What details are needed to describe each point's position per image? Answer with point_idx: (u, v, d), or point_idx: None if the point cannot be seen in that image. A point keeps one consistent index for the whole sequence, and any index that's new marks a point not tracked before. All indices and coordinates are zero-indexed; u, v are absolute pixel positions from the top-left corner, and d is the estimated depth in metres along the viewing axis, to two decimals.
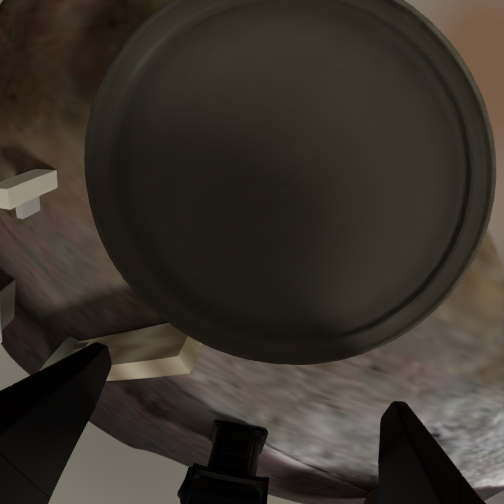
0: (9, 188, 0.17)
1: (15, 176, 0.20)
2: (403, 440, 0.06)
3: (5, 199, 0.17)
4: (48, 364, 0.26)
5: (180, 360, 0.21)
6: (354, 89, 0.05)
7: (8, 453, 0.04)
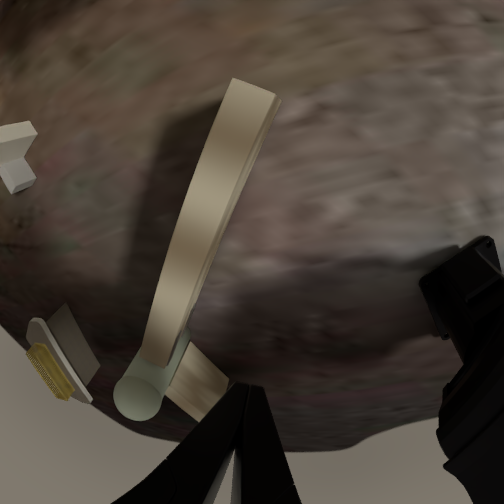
0: None
1: None
2: (241, 426, 0.07)
3: None
4: (131, 362, 0.19)
5: (241, 82, 0.11)
6: None
7: None
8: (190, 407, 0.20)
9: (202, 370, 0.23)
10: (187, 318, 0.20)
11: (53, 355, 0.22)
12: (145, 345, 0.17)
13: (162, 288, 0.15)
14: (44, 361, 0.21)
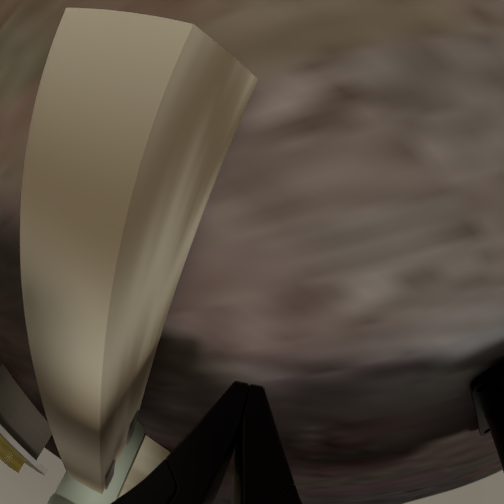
0: None
1: None
2: (241, 426, 0.07)
3: None
4: (66, 472, 0.10)
5: (85, 13, 0.02)
6: None
7: None
8: None
9: None
10: (127, 432, 0.12)
11: None
12: (70, 472, 0.09)
13: (59, 437, 0.07)
14: None
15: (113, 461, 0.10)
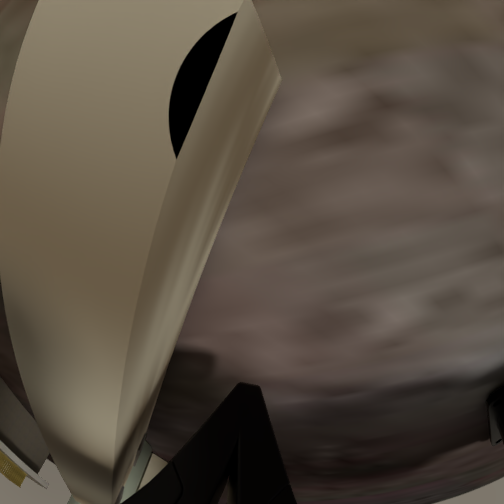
0: None
1: None
2: None
3: None
4: None
5: None
6: None
7: None
8: None
9: None
10: (135, 456, 0.11)
11: None
12: (77, 498, 0.08)
13: (65, 473, 0.06)
14: None
15: (122, 488, 0.09)
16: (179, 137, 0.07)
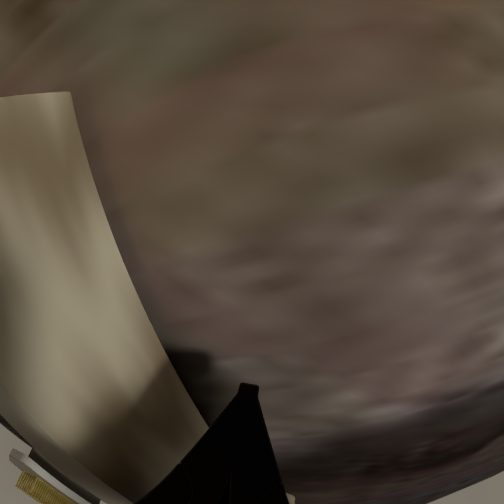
0: None
1: None
2: None
3: None
4: None
5: None
6: None
7: None
8: None
9: None
10: None
11: (53, 487, 0.11)
12: None
13: None
14: (43, 497, 0.10)
15: None
16: None
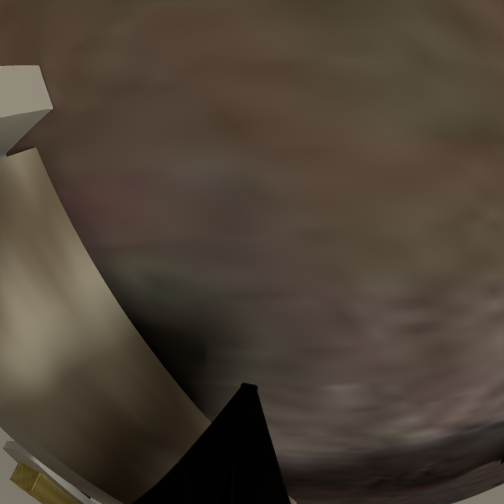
0: None
1: None
2: None
3: None
4: None
5: None
6: None
7: None
8: None
9: None
10: None
11: (55, 484, 0.10)
12: None
13: None
14: (43, 494, 0.09)
15: None
16: None
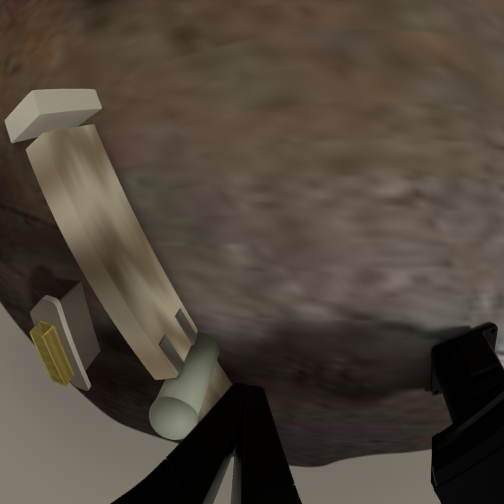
0: (34, 90, 0.11)
1: None
2: (241, 426, 0.07)
3: (30, 109, 0.12)
4: (169, 380, 0.19)
5: (29, 146, 0.13)
6: None
7: None
8: None
9: (222, 388, 0.24)
10: (177, 324, 0.20)
11: (61, 338, 0.20)
12: (147, 365, 0.18)
13: (107, 307, 0.16)
14: (50, 344, 0.19)
15: (164, 335, 0.18)
16: None
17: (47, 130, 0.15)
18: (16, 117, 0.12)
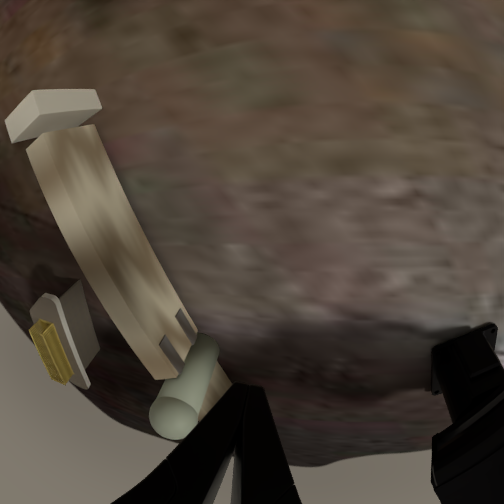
0: (34, 90, 0.11)
1: None
2: (241, 426, 0.07)
3: (30, 109, 0.12)
4: (169, 380, 0.19)
5: (29, 147, 0.13)
6: None
7: None
8: None
9: (223, 388, 0.24)
10: (177, 324, 0.20)
11: (60, 336, 0.20)
12: (147, 365, 0.18)
13: (107, 307, 0.17)
14: (50, 342, 0.19)
15: (164, 335, 0.18)
16: None
17: (47, 130, 0.15)
18: (17, 117, 0.12)
